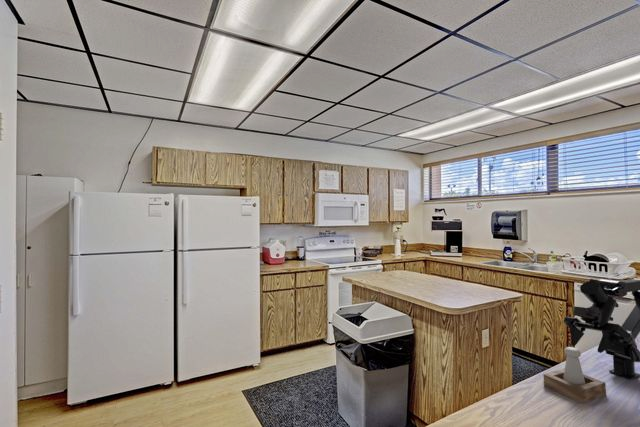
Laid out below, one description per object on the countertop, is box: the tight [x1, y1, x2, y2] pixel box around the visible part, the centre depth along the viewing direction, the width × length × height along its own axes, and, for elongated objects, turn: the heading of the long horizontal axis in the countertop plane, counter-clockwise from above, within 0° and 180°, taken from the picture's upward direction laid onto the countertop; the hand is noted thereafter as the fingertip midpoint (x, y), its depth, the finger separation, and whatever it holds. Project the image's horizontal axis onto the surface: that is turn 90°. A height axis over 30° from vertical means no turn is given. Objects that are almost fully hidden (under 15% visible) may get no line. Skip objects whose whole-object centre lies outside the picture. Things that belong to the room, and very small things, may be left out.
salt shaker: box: [564, 346, 585, 386], centre depth 109 cm, size 6×6×13 cm
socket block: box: [542, 367, 607, 404], centre depth 109 cm, size 12×12×4 cm
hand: (585, 348), depth 112 cm, fingers open, 9 cm apart
